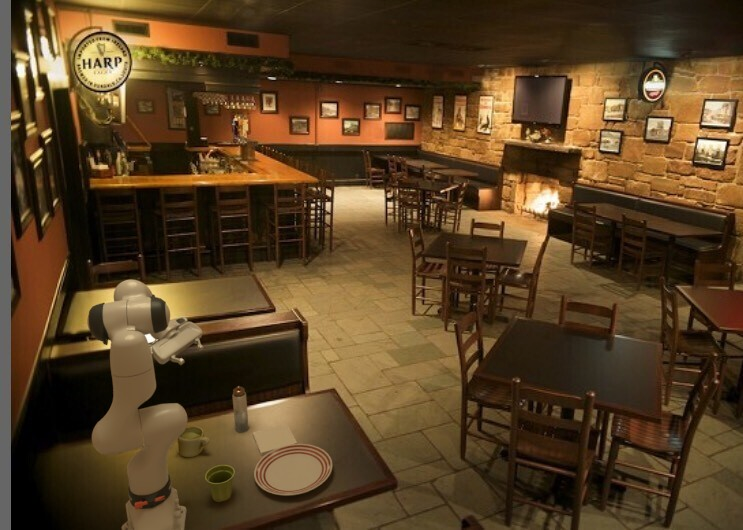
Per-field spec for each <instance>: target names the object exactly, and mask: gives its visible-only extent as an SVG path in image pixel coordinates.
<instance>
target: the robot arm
mask: <svg viewBox="0 0 743 530" xmlns="http://www.w3.org/2000/svg"><path fill="white" fill-rule="evenodd" d="M113 291H114V292H113V301H111V302H106V303H105V302H101V303H98V304H95V305H93V306H91V308H90V309H89V311H88V315H87V321H86V322H87V323H86V324H87V327H88V330H89V331H90V332H89V333H90V334H91V336H92V337H94V339H96V340H97V341H100V342H102V344H103V345H104V346H108V344H109V341H110V346H109V347H110V349H109V361H110V362H109V363H110V372H111V374H110V375H111V378H112V379H111V380H112V388H113V389H112V391H113V392H112V394H113V397H112V403H111V405H110V408H109V410H108V411H107V412H106V414H105V415H104V416H103V417H102V418H101V419H100V420H99V421H97V423H96V424H95V426H94V427H93V430H92V432H91V442H92V446H93V447H94V449H95V450H96V451H97V452H98V453H99V454H100V455H103V456H104V455H115V454H117V455H118V454H123V453H126V452H130V451H133V450H137V449H139V450H138V451H137V452H136V453H134V455H132V457H131V458H130V459H129V461H128V463H127V466H126V472H127V480H128V492H127V493H128V498H129V500H128V501H127V502H126V503H125V509H126V516H127V517H126V518H127V521H126V522H124V524H122V525H121V530H185V529H186V528H185V526H186V517H187V511H188V510H187V508H186V506H184V505H180V499H179V496H178V490H177V489H176V488H174V487H173V486H172V479H171V477H170V474H169V469H168V468H169V467H168V457H169V452H170V449H171V448H172V446H173V444H175V442H176V441H177V440H178V437H179V436H180V435H182V434H183V432H184V431H185V429H186V427H188V415H187V412H186V410H185V408H184V407H183V406H182V405H181V404H179V403H177V402H175V403H174V402H173V403H160V404H156V405H151V406H148V407H144V408H143V407H142V408H140V409H139V407H140V406H141V405H143V404H145V402H147V401H148V400H149V399H150V398H152V396H153V395H154V393H155V391H156V389H157V380H156V373H155V367H154V362H153V361H154V360H153V359H155V361H157V362H158V364H160V365H164V364H166V363H168V362H169V361H171V362H173V363H178V365H180V366H182V365H183V364H185V359H183V358H182V357H181V358H179V357H176V356H177V355H178V354H180V353H182V352H183V351H185V350H186V349H187V348H189V347H190V346H191V345H193V344H194V345H197V347H196V349H197V350H198V351H199V352H201V351H202V350H204V345H202V344H201V340H200V339H202V336H203V334H204V333H203V330H202V328H201V327H199V326H198V325H197V324H195V323H194V322H192V321H188V318H187V317H185V316H183V317H179V318H175V319H171V311H170V308H169V305H167V303H166V301H165V300H163V299H162V298H161V297H157V296H156V295H155V294H153V292H152V291H151V289H150V288H149V287H148V286H147V285H146V284H145V283H144V282H142V281H140V280H138V279H137V280H136V279H127V280H124V281H121V282H120V283H118V284H117V286H116V287H115V289H114V290H113ZM148 335H150V336H151V337H152V338H153V339H154V341H152V342H151V343H149V341H148V339H147V337H146V336H148Z"/></svg>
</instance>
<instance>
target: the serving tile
mask: <svg viewBox="0 0 743 530" xmlns="http://www.w3.org/2000/svg"><path fill="white" fill-rule="evenodd" d="M252 437H253V439H254V442H255V443H256V446H257V448H258V451H259V453H260V456H265V455H266V454H267V453H269V452H271V451H273V450H275V449H277V448H279V447H283V446H286V445H292V444H298V442H297V440H296V438H295V436H294V435H293V432H292V431H291V429H290V427H289V425H288V424H287V423H284V424H281V425H276V426H272V427H270V428H269V427H268V428H265V429H261V430H257V431H253V432H252Z"/></svg>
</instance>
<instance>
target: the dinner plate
mask: <svg viewBox="0 0 743 530" xmlns="http://www.w3.org/2000/svg"><path fill="white" fill-rule="evenodd" d="M332 471H333V460H332V457H331V455H329V453H328V452H327V451H325V449H322V448H321V447H318V446H317V445H314V444H308V443H297V444H292V445H286V446H283V447H279V448H277V449H275V450H273V451H271V452H269V453H267V454H265V455H263V457H261V458H260V460H258V462H257V463H256V465H255V468H254V471H253V476H254V477H253V478H254V481H255V483H256V484H257V485H258V487H260V488H261V489H262V490H263V491H265V492H267V493H269V494H272V495H277V496H282V497H283V496H285V497H287V496H297V495H302V494H306V493H308V492H310V491H313V490H315V489H316V488H318V487H319V486H321V485H323V483H324V482H326V481H327V480H328V478H329V477H330V476H331V474H332Z"/></svg>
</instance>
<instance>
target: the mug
mask: <svg viewBox="0 0 743 530" xmlns="http://www.w3.org/2000/svg"><path fill="white" fill-rule="evenodd" d="M204 432H205V431H204V429H203V428H202V427H200V426H199V425H198V426H197V425H189V426H188V425H187V426H186V429H185V431H184V432H183V434H182V435H180V436H179V437H178V438H177V444H178V445H177V447H178V453H179V455H180V456H182V457H184V458H192V457H196V456H198V455H200V454H201V453H202V452H203V450H204V448H205V447H206V446H207V445H208V444H209V443H210V442H211V441H210V439H209V437H207V436H205V433H204Z"/></svg>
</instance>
